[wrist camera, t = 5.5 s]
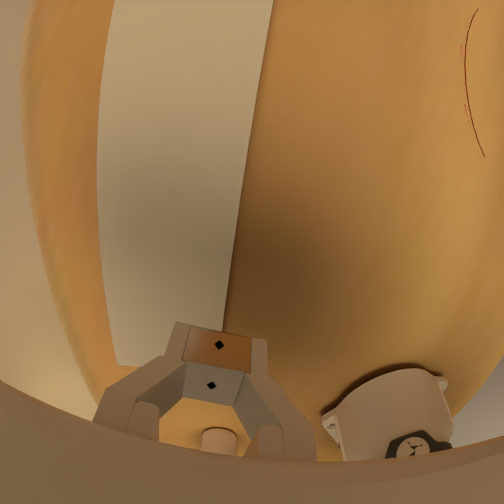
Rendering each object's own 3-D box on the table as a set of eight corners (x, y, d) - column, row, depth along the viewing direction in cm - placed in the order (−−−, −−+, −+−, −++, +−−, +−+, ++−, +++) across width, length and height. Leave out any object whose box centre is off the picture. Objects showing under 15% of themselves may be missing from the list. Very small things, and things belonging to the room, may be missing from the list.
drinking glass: (200, 442, 43) (191, 523, 30) (194, 422, 40) (182, 514, 27) (242, 444, 43) (240, 526, 30) (240, 424, 40) (238, 518, 27)
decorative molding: (261, -11, 18) (136, -22, 15) (278, -30, 14) (126, -43, 11) (211, 334, 34) (122, 332, 31) (217, 367, 30) (117, 365, 27)
